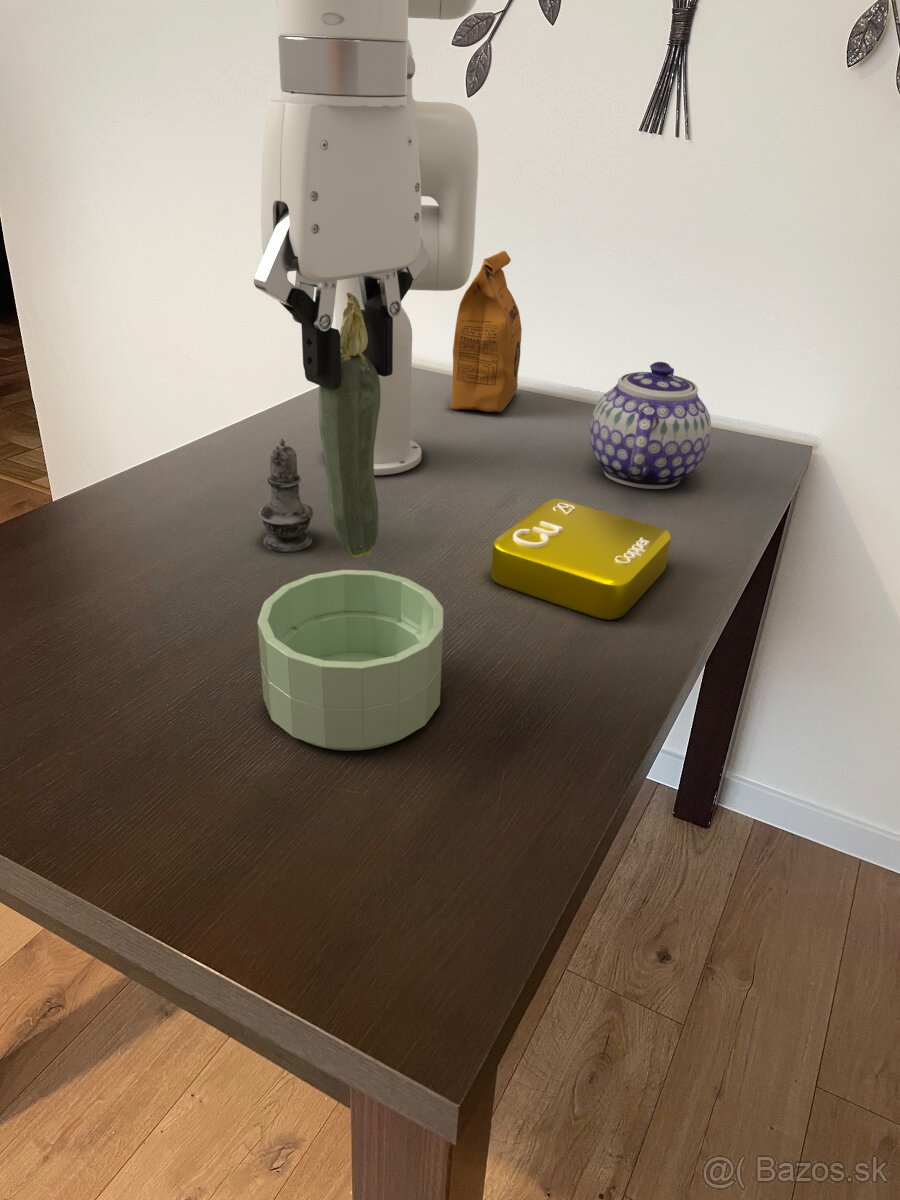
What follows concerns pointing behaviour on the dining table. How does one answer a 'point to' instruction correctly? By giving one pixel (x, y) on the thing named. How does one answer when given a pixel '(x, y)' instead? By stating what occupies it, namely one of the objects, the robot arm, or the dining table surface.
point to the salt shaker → (285, 504)
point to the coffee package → (486, 341)
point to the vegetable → (352, 438)
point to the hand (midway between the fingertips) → (349, 375)
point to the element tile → (581, 558)
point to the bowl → (351, 658)
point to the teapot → (650, 429)
